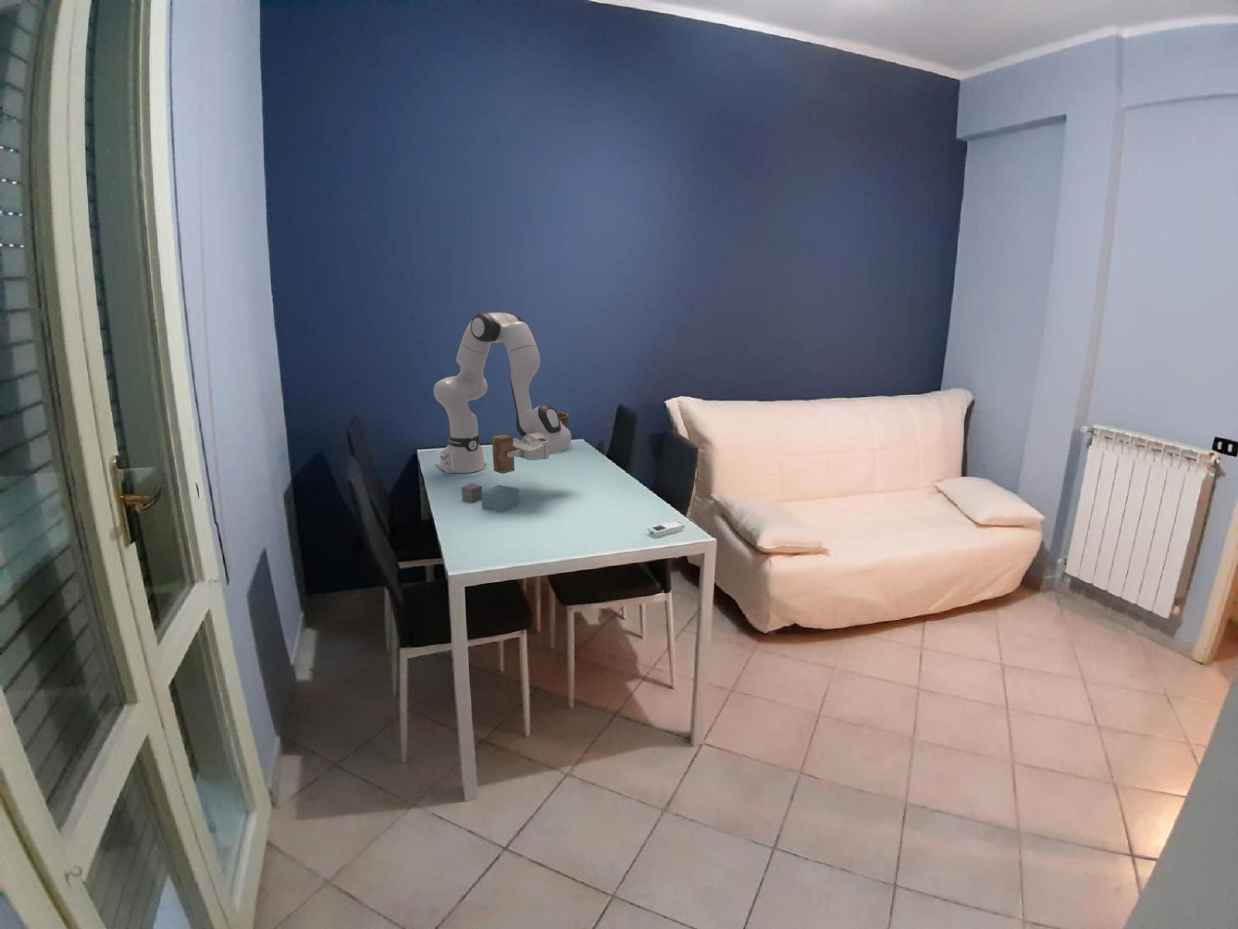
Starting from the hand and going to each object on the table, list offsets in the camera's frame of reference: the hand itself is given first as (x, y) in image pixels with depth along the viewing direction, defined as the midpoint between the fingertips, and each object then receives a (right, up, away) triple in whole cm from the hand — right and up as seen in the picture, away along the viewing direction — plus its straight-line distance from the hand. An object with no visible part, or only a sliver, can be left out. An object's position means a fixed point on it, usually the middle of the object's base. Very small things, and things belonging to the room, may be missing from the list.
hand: (501, 453), depth 207 cm
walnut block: (+1, -6, +2) cm, 7 cm away
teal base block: (-1, -19, +5) cm, 19 cm away
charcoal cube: (-12, -17, +11) cm, 23 cm away
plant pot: (+9, +4, +81) cm, 81 cm away
